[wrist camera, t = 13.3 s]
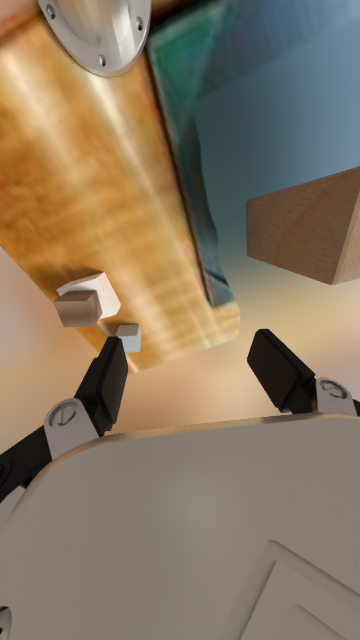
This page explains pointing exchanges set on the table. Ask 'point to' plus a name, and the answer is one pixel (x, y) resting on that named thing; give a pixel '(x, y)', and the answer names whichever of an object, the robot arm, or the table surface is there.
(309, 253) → the wooden block
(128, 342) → the slate-grey cube
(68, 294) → the walnut cube
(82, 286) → the off-white block
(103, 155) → the table surface
